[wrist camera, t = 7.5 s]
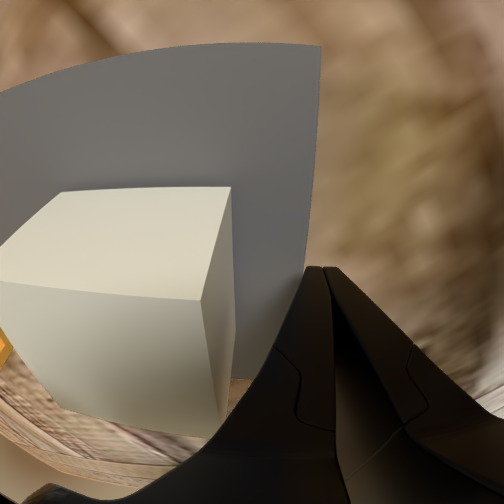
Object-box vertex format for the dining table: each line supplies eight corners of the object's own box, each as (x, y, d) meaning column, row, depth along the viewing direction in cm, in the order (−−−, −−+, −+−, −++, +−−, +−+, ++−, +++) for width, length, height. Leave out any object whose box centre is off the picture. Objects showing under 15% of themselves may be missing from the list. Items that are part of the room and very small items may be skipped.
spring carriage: (230, 186, 7) (200, 300, 4) (235, 329, 10) (223, 439, 7) (61, 192, 8) (-28, 276, 4) (102, 318, 10) (60, 407, 7)
